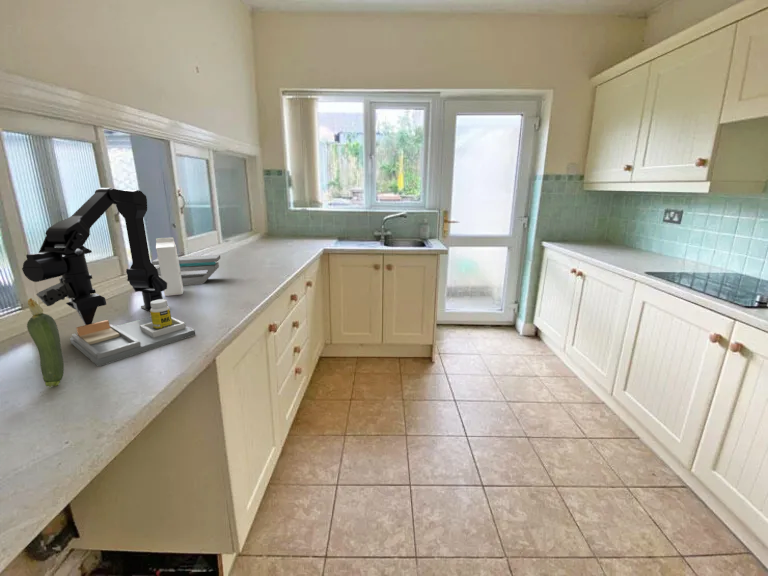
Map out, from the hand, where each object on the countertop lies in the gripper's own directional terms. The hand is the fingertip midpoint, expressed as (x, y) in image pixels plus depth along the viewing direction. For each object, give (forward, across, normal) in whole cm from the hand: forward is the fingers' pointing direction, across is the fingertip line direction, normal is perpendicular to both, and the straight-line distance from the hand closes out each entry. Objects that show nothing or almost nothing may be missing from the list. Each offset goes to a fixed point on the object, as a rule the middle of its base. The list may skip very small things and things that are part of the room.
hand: (88, 325), depth 102 cm
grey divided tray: (+3, +13, +7) cm, 15 cm away
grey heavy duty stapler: (+3, -36, +46) cm, 58 cm away
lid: (+2, +8, 0) cm, 8 cm away
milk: (+3, -24, +34) cm, 42 cm away
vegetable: (+3, +27, -13) cm, 30 cm away
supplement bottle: (+2, +16, +13) cm, 21 cm away
